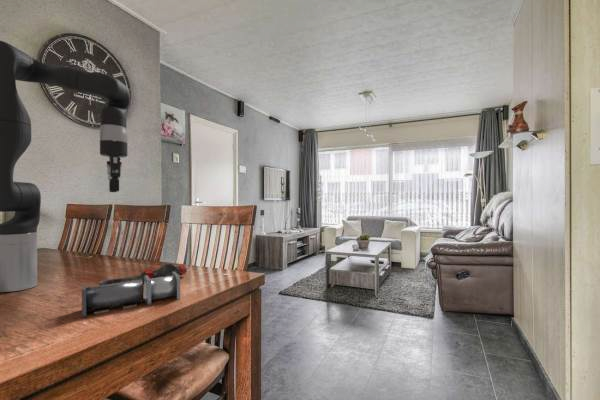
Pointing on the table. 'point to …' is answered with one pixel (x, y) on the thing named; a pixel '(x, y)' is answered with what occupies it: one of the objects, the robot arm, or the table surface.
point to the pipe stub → (111, 296)
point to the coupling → (161, 287)
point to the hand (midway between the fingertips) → (114, 191)
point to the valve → (150, 274)
